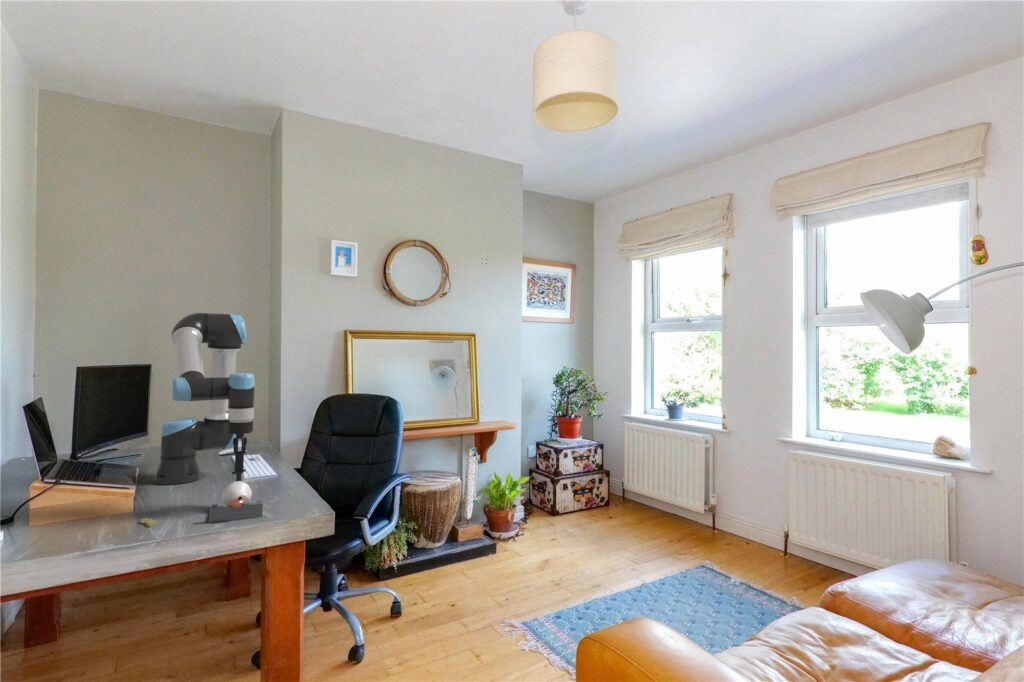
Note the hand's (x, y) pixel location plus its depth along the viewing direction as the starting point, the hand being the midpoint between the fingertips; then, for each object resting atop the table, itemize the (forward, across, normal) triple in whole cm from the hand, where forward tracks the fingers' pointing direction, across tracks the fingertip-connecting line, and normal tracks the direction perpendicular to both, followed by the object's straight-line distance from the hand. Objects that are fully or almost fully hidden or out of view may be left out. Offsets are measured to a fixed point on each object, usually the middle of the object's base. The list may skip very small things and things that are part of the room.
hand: (238, 493), depth 168 cm
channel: (+4, +9, 0) cm, 9 cm away
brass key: (+4, +10, -22) cm, 25 cm away
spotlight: (+3, +7, 0) cm, 8 cm away
